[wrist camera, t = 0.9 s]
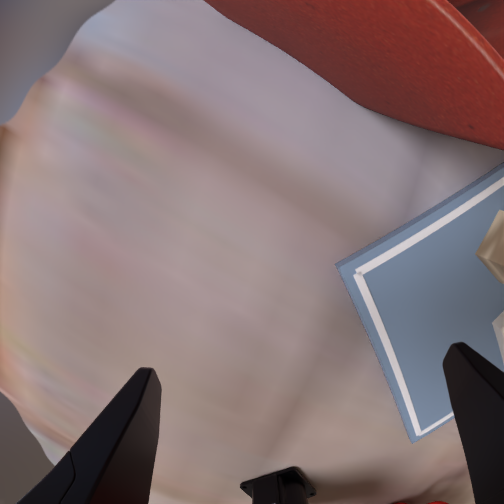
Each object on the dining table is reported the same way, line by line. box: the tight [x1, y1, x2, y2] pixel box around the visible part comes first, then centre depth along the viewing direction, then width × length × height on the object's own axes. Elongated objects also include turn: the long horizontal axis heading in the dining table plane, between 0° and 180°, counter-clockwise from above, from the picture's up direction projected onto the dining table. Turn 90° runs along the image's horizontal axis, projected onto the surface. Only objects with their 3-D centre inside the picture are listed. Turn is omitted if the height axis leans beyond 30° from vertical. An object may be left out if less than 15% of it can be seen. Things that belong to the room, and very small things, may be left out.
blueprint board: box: [335, 162, 504, 443], centre depth 23 cm, size 22×22×1 cm
